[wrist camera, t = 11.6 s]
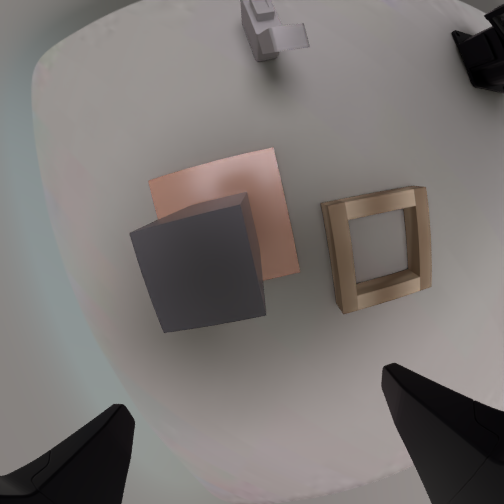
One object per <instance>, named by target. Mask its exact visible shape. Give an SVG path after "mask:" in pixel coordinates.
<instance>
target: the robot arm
mask: <svg viewBox="0 0 504 504" xmlns="http://www.w3.org/2000/svg"><path fill="white" fill-rule="evenodd" d="M484 17H485V18H486V19H487V20H488V21H489V22H490V23H491V25H492V27H490V28H488V29H486V30H483V31H481V32H479V33H477V34H475V35H473V36H472V35H469V34H466V33H463V32H459V31H456V30H455V31H453V32H452V35H453V37H454V39H455V41H456V43H457V46H458V48H459V50H460V53H461V55H462V58H463V60H464V63H465V65H466V68H467V71H468V74H469V76H470V79H471V82H472V84H473V86H474V87H476V88H481V89H487V90H492V91H496V92H501V93H504V4H502V5H501V6H499V7H497V8H495V9H493V10H492V11H490V12H489V13H487V14H486V15H484ZM381 386H382V390H383V393H384V396H385V398H386V401H387V404H388V407H389V410H390V412H391V415H392V418H393V421H394V424H395V426H396V428H397V430H398V432H399V434H400V436H401V438H402V440H403V442H404V444H405V446H406V448H407V451H408V453H409V455H410V457H411V459H412V461H413V463H414V465H415V467H416V470H417V472H418V474H419V476H420V478H421V480H422V483H423V485H424V487H425V489H426V491H427V494H428V496H429V498H430V501H431V503H432V504H504V411H501V410H498V409H495V408H492V407H490V406H487V405H485V404H482V403H480V402H478V401H473V399H471V398H469V397H466V396H464V395H462V394H460V393H458V392H455V391H453V390H451V389H449V388H447V387H445V386H442V385H440V384H438V383H436V382H434V381H432V380H430V379H428V378H426V377H423V376H421V375H419V374H417V373H415V372H413V371H411V370H409V369H407V368H405V367H403V366H401V365H399V364H397V363H391V364H388V365H385V366H384V367H383V370H382V382H381ZM134 428H135V421H134V418H133V417H132V415H131V414H130V412H129V411H128V409H127V408H126V406H124V405H123V404H113V405H112V406H111V407H109V408H108V409H106V410H105V411H104V412H102V413H101V414H100V415H98V416H97V417H96V418H94V419H93V420H92V421H90V422H89V423H87V424H86V425H85V426H83V427H82V428H80V429H79V430H78V431H76V432H75V433H73V434H72V435H71V436H69V437H68V438H67V439H65V440H64V441H62V442H61V443H59V444H58V445H57V446H55V447H54V448H52V449H51V450H49V451H48V452H47V453H45V454H43V455H42V456H40V457H39V458H37V459H36V460H34V461H32V462H30V463H29V464H27V465H25V466H23V467H21V468H19V469H17V470H15V471H14V472H12V473H10V474H7V475H4V476H0V504H121V503H122V498H123V493H124V487H125V482H126V477H127V473H128V469H129V464H130V459H131V453H132V444H133V436H134Z"/></svg>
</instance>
